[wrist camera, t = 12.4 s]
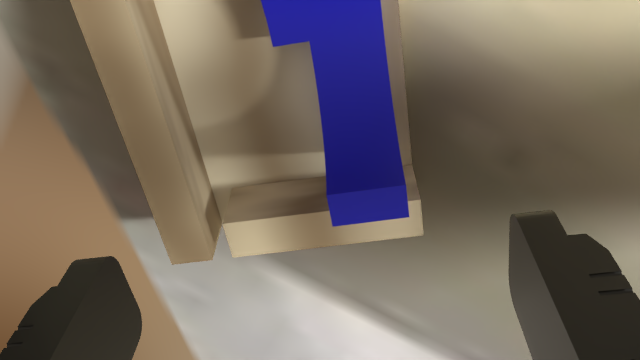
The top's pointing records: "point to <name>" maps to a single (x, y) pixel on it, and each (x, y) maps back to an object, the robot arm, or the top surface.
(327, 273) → the top surface
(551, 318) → the robot arm
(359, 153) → the cable clip
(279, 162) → the notched board
